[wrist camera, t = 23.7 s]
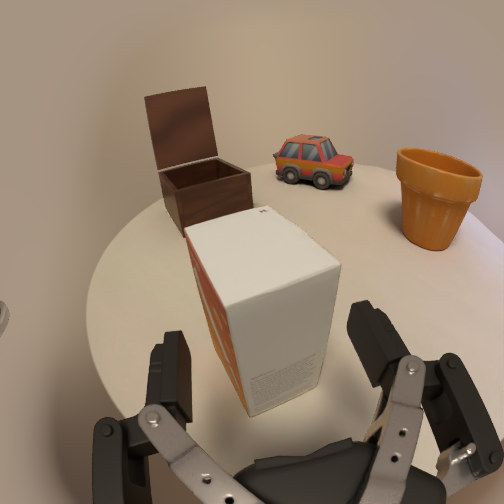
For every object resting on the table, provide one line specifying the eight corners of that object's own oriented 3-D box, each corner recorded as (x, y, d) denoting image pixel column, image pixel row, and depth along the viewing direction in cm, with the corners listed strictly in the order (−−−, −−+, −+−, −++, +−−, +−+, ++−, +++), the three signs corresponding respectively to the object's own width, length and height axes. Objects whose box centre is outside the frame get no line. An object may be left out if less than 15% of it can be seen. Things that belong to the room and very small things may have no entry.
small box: (213, 349, 24) (181, 225, 17) (274, 326, 26) (269, 202, 19) (249, 421, 18) (222, 307, 11) (319, 387, 20) (346, 260, 13)
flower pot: (384, 249, 36) (398, 161, 28) (388, 210, 46) (396, 143, 38) (469, 269, 30) (495, 186, 22) (455, 226, 40) (469, 160, 32)
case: (253, 216, 47) (250, 172, 42) (183, 237, 42) (174, 192, 38) (221, 192, 58) (217, 157, 53) (165, 207, 53) (158, 172, 49)
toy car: (341, 194, 53) (344, 146, 47) (271, 181, 61) (268, 139, 56) (354, 178, 61) (356, 139, 55) (292, 168, 69) (291, 132, 63)
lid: (206, 86, 47) (204, 87, 47) (144, 96, 42) (144, 97, 43) (218, 155, 53) (216, 155, 53) (158, 170, 48) (157, 170, 49)
